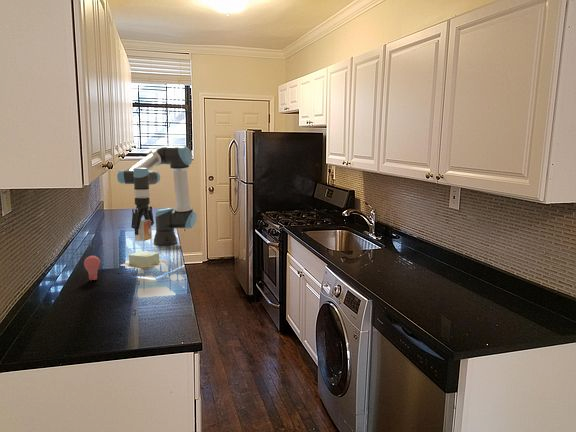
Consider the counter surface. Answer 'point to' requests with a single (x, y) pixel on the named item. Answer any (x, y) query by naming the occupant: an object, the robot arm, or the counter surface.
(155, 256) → the base block
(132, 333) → the counter surface
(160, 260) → the birch board
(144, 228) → the small box
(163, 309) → the counter surface
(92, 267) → the light bulb
